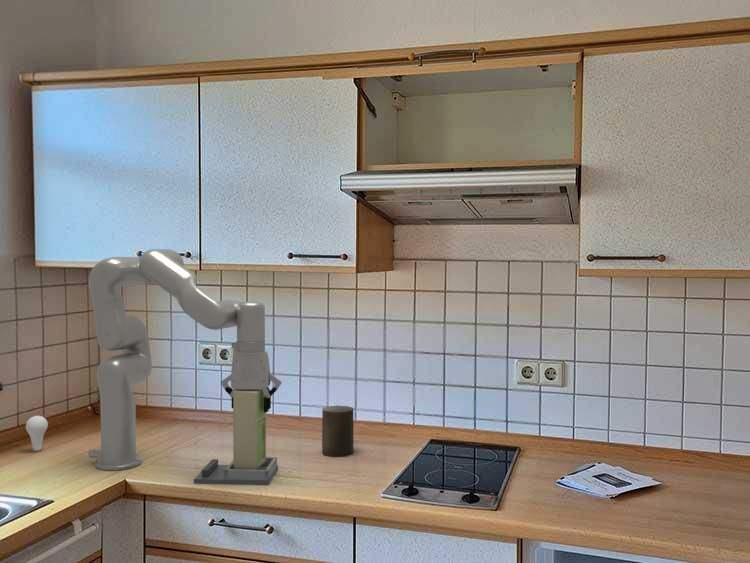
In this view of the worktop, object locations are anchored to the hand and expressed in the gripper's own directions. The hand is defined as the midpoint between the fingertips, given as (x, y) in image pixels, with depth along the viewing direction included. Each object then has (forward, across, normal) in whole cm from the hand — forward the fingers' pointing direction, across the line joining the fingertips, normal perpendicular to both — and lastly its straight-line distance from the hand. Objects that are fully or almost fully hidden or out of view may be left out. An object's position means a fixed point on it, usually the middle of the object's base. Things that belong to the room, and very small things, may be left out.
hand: (251, 411), depth 190 cm
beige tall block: (+15, 0, 0) cm, 15 cm away
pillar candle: (+18, +21, +25) cm, 38 cm away
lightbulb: (+18, -72, +21) cm, 77 cm away
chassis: (+18, -4, 0) cm, 19 cm away
